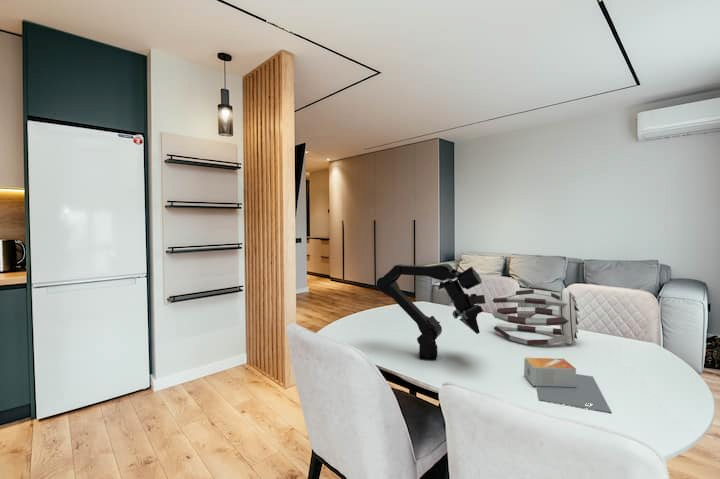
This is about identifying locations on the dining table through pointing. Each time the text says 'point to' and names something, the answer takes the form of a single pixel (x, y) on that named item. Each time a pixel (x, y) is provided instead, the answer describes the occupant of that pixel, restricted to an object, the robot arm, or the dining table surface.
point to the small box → (549, 372)
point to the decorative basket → (565, 318)
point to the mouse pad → (576, 394)
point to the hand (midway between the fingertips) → (478, 333)
